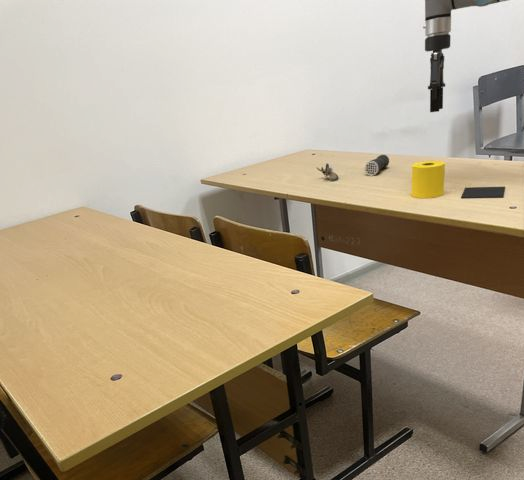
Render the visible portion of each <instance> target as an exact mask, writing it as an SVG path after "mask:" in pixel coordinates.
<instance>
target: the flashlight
mask: <svg viewBox="0 0 524 480" xmlns="http://www.w3.org/2000/svg"><path fill="white" fill-rule="evenodd" d="M389 164H390V158H389V156H388V155H386V154H380V155H378V156H377V157H376V158H374V159H371V160H369V161H367V162H366V163H365V165H364V172H365V174H366V175H368V176H369V177H372V176H375V175H377V174H378V173H379V172H381V170H382V169H386V168H387V167H388V166H389Z"/></svg>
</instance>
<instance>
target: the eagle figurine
mask: <svg viewBox="0 0 524 480" xmlns="http://www.w3.org/2000/svg"><path fill="white" fill-rule="evenodd" d="M316 169H317V170H318V171H319V172H321V173H322V174H323V179H322V181H325V180H326V179H327V177H328V176H329V181H331V182H336V181H338V180H339V175H338V174H337V173H336V172H334V167H333V165H331V164H330V163H325V168H324V167H323V166H321V167H320V168H319V167H318V166H317V167H316Z"/></svg>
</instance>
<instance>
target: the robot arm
mask: <svg viewBox="0 0 524 480" xmlns="http://www.w3.org/2000/svg"><path fill="white" fill-rule="evenodd" d="M507 1H509V0H424V18H425V19H424V21H425V22H424V24H423V26H422V29H424V34H425V37H426V38H425V39H424V51H425V52H431V54H430V59H429V63H430V78H429V85H428V86H427V90H429V113H438V112H440V110H443V109H444V108H443V107H444V88H445V87H446V83H445V82H444V68H445V55H444V52H443V50H448V49H450V48H451V36H452V35H451V34H450V33H451V31H452V11H454V10H459V9H465V8H470V7H478V8H479V7H480V8H482V7H487V6H489V5H494V4H498V3H501V2H507Z"/></svg>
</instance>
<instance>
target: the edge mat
mask: <svg viewBox="0 0 524 480" xmlns="http://www.w3.org/2000/svg"><path fill="white" fill-rule="evenodd" d="M505 191H506V186H473V187H471V186H467V187H464V188H463V192H462V194H461V196H460V199H503V198H504V196H505Z"/></svg>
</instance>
